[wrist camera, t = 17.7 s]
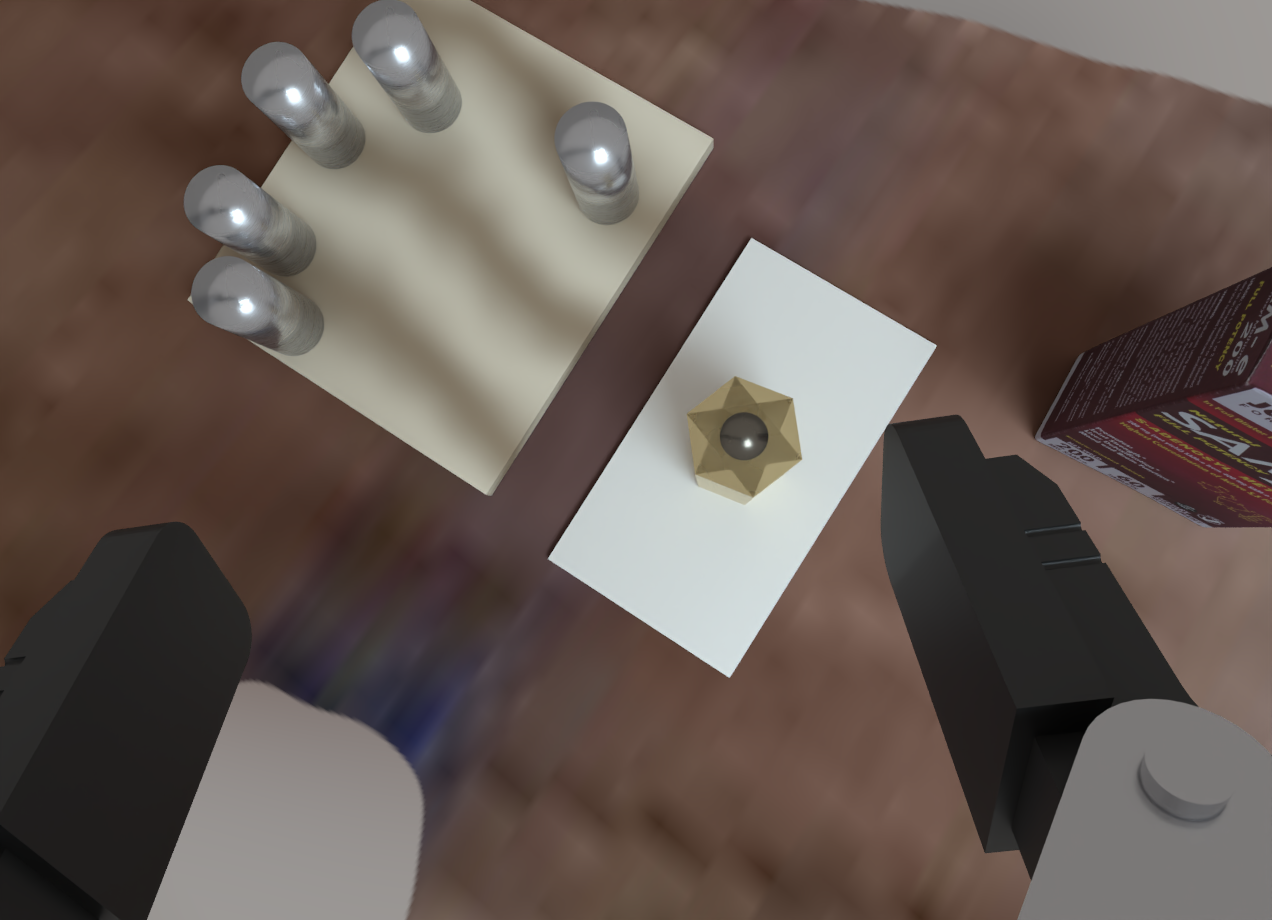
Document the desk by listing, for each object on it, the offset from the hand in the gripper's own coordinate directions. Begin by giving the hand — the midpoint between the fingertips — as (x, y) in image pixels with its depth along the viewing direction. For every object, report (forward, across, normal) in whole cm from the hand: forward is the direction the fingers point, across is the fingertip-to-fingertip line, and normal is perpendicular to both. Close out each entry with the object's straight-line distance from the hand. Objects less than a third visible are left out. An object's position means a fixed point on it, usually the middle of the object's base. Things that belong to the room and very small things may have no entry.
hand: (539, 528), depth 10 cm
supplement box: (+23, -22, +21) cm, 38 cm away
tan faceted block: (+24, -4, +19) cm, 31 cm away
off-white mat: (+24, -4, +19) cm, 31 cm away
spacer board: (+33, +9, +10) cm, 36 cm away
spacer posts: (+32, +10, +10) cm, 35 cm away
